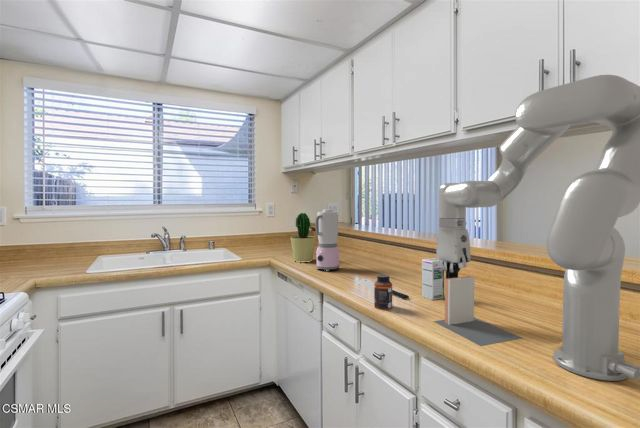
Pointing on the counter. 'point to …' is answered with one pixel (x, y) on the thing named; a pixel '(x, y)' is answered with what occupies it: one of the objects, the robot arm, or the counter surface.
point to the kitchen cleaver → (370, 285)
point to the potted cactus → (303, 240)
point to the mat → (480, 332)
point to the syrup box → (432, 279)
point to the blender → (327, 240)
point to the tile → (459, 300)
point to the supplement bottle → (383, 293)
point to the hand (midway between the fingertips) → (451, 284)
